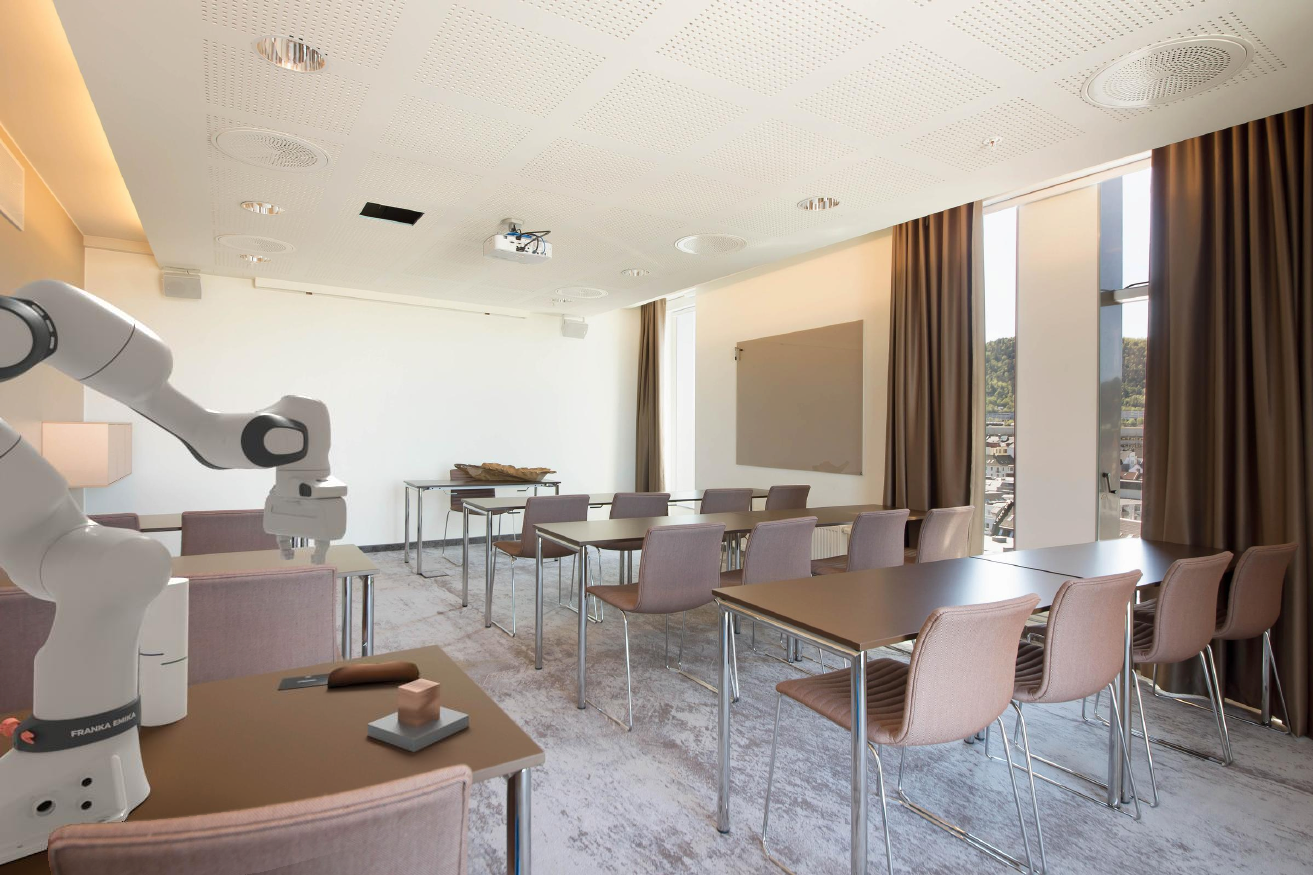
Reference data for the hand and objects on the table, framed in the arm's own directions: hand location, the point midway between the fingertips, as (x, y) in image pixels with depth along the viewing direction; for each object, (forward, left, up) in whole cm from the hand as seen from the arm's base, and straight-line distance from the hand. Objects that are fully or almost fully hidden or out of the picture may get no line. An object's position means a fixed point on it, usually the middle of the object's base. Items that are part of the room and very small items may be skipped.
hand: (302, 561), depth 122 cm
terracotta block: (+9, -21, -27) cm, 35 cm away
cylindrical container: (-12, +23, -29) cm, 39 cm away
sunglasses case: (+21, +8, -30) cm, 37 cm away
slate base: (+9, -21, -29) cm, 37 cm away
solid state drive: (+13, +19, -30) cm, 37 cm away
